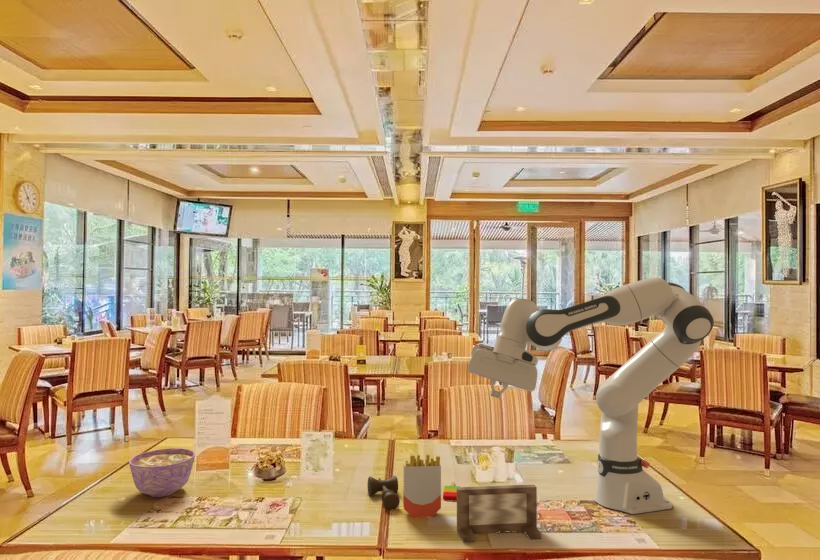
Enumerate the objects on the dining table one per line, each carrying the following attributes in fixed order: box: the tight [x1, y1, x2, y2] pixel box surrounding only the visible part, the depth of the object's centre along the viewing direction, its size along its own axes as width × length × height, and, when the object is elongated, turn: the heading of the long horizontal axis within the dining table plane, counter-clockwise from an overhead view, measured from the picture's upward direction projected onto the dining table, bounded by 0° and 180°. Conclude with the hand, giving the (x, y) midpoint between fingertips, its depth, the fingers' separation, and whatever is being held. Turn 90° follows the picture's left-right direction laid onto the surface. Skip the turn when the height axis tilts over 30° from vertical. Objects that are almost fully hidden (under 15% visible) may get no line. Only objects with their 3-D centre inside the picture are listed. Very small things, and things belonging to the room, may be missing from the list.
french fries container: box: [402, 454, 442, 518], centre depth 162 cm, size 5×11×18 cm, turn 94°
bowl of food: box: [128, 447, 196, 498], centre depth 179 cm, size 20×20×12 cm
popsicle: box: [442, 481, 461, 502], centre depth 179 cm, size 6×15×2 cm, turn 173°
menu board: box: [456, 484, 542, 544], centre depth 148 cm, size 22×7×12 cm, turn 96°
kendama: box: [367, 475, 400, 511], centre depth 174 cm, size 6×10×20 cm
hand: (495, 397), depth 158 cm, fingers closed
